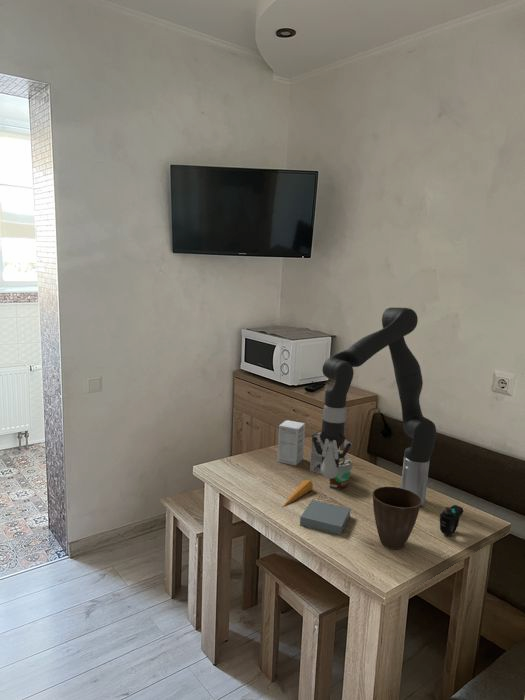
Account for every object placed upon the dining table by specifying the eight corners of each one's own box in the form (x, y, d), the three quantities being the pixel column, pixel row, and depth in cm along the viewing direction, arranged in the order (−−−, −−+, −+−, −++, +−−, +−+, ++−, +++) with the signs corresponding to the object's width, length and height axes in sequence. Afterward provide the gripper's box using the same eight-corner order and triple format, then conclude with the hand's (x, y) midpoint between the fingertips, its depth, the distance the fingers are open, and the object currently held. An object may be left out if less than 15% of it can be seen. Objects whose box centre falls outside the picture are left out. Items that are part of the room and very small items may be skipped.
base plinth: (349, 516, 179) (350, 508, 178) (340, 535, 166) (341, 526, 166) (311, 507, 184) (312, 499, 183) (299, 525, 171) (300, 516, 171)
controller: (435, 536, 169) (438, 508, 167) (450, 524, 178) (453, 497, 176) (447, 542, 166) (451, 513, 164) (462, 528, 175) (466, 501, 173)
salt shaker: (326, 480, 168) (329, 443, 166) (317, 474, 173) (319, 437, 171) (341, 478, 171) (344, 441, 169) (331, 471, 176) (334, 435, 174)
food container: (341, 493, 196) (343, 469, 195) (327, 488, 200) (329, 464, 198) (356, 483, 206) (358, 460, 204) (342, 479, 210) (344, 456, 208)
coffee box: (319, 464, 224) (322, 429, 221) (332, 468, 220) (335, 432, 217) (309, 470, 216) (311, 434, 214) (322, 474, 213) (325, 438, 210)
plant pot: (358, 538, 165) (362, 492, 162) (389, 526, 173) (394, 482, 171) (394, 561, 153) (399, 512, 150) (425, 547, 162) (431, 500, 159)
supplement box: (303, 459, 229) (306, 423, 226) (296, 466, 220) (299, 429, 217) (283, 454, 232) (286, 419, 229) (276, 461, 224) (278, 424, 221)
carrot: (306, 489, 200) (303, 478, 200) (316, 488, 198) (312, 477, 197) (279, 513, 184) (275, 501, 184) (289, 512, 182) (285, 500, 182)
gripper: (357, 418, 170) (352, 467, 173) (316, 412, 175) (313, 459, 178) (352, 425, 163) (348, 475, 166) (310, 418, 168) (306, 467, 171)
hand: (330, 467), depth 172 cm, fingers closed on salt shaker, 3 cm apart
